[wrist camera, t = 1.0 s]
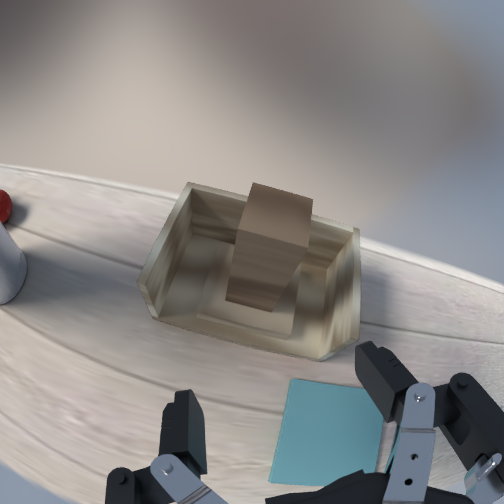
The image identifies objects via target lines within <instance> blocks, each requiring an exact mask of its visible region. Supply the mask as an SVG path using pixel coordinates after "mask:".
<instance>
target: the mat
mask: <svg viewBox="0 0 504 504" xmlns="http://www.w3.org/2000/svg"><path fill="white" fill-rule="evenodd" d="M383 418H384V417H383V416H382V414H381V413H380V411H379V410H378V408H377V407H376V405H375V404H374V402H373V400H372V399H371V397H370V396H369V394H368V393H367V391H366V390H365V389H363V388H354V387H346V386H338V385H331V384H324V383H317V382H311V381H305V380H299V379H294V378H293V379H291V380H290V385H289V390H288V395H287V400H286V405H285V410H284V415H283V420H282V425H281V429H280V434H279V438H278V443H277V447H276V452H275V456H274V460H273V464H272V468H271V472H270V476H269V480H268V481H269V482H270V483H278V484H290V485H308V486H327V485H329V484H330V483H332V482H334V481H335V480H337V479H339V478H341V477H343V476H346V475H349V474H351V473H354V472H356V471H359V470H361V469H363V471H364V473H373V472H375V467H376V462H377V457H378V451H379V445H380V439H381V433H382V426H383Z"/></svg>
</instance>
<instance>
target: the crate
mask: <svg viewBox="0 0 504 504" xmlns="http://www.w3.org/2000/svg"><path fill="white" fill-rule="evenodd" d="M247 199H248V196H244V195H240V194H236V193H232V192H228V191H224V190H220V189H216V188H212V187H208V186H204V185H199V184H195V183H191V182H187V184H186V186H185V188H184V189H183V191H182V193H181V195H180V196H179V198H178V200H177V202H176V204H175V206H174V207H173V209H172V211H171V213H170V215H169V217H168V219H167V221H166V223H165V224H164V226H163V228H162V230H161V232H160V234H159V236H158V238H157V240H156V242H155V244H154V246H153V248H152V250H151V252H150V254H149V256H148V259H147V261H146V263H145V265H144V267H143V269H142V271H141V273H140V276H139V278H138V280H137V284H138V286H139V288H140V291H141V293H142V295H143V297H144V300H145V302H146V304H147V306H148V309H149V311H150V313H151V315H152V317H153V319H156V320H159V321H162V322H165V323H168V324H171V325H174V326H177V327H180V328H183V329H187V330H190V331H193V332H197V333H200V334H203V335H207V336H210V337H214V338H218V339H221V340H225V341H229V342H232V343H236V344H240V345H244V346H248V347H252V348H256V349H261V350H265V351H269V352H274V353H278V354H283V355H287V356H292V357H297V358H302V359H307V360H312V361H318V362H322V361H324V360H325V359H327V358H329V357H331V356H332V355H334V354H336V353H338V352H339V351H341V350H343V349H344V348H346V347H348V346H349V345H351V344H352V343H354V342H356V341H357V340H359V327H360V298H361V262H360V232H359V229H358V228H355V227H351V226H349V225H345V224H342V223H339V222H336V221H333V220H329V219H326V218H323V217H319V216H316V215H313V214H312V215H311V225H310V235H309V244H308V249H307V251H306V253H305V254H304V256H303V258H302V260H301V262H300V263H299V265H298V267H297V269H296V270H295V272H294V274H293V276H292V278H291V279H290V281H289V283H288V285H287V286H286V288H285V290H284V292H283V293H282V295H281V297H280V298H279V300H278V302H277V304H276V305H275V307H274V309H273V310H272V312H267V311H263V310H259V309H255V308H251V307H247V306H244V305H240V304H236V303H232V302H229V301H225V297H226V292H227V286H228V280H229V275H230V269H231V263H232V258H233V252H234V247H235V241H236V236H237V230H238V227H239V223H240V220H241V217H242V214H243V211H244V208H245V205H246V202H247Z"/></svg>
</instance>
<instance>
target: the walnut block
mask: <svg viewBox="0 0 504 504" xmlns="http://www.w3.org/2000/svg"><path fill="white" fill-rule="evenodd" d="M312 204H313V199H310V198H307V197H303V196H300V195H297V194H293V193H290V192H286V191H283V190H278V189H276V188H272V187H268V186H264V185H260V184H257V183H253V184H252V187H251V190H250V193H249V196H248V199H247V202H246V205H245V208H244V211H243V214H242V217H241V220H240V223H239V227H238V230H237V236H236V241H235V247H234V252H233V258H232V263H231V269H230V275H229V280H228V286H227V292H226V297H225V301H229V302H232V303H236V304H240V305H244V306H247V307H251V308H255V309H259V310H263V311H267V312H272V310H273V309H274V307H275V305H276V304H277V302H278V300H279V298H280V297H281V295H282V293H283V292H284V290H285V288H286V286H287V285H288V283H289V281H290V279H291V278H292V276H293V274H294V272H295V270H296V269H297V267H298V265H299V263H300V262H301V260H302V258H303V256H304V254H305V253H306V251H307V249H308V244H309V235H310V225H311V215H312Z"/></svg>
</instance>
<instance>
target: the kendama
mask: <svg viewBox="0 0 504 504" xmlns="http://www.w3.org/2000/svg"><path fill="white" fill-rule="evenodd" d="M11 210H12V202H11V199H10V197H9V195H8V194H7V193H6V192H5V191H3V190H0V221H1V223H2V224H3V223H4V222H6V221H7V219H8V218H9V217H10V214H11Z"/></svg>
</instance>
